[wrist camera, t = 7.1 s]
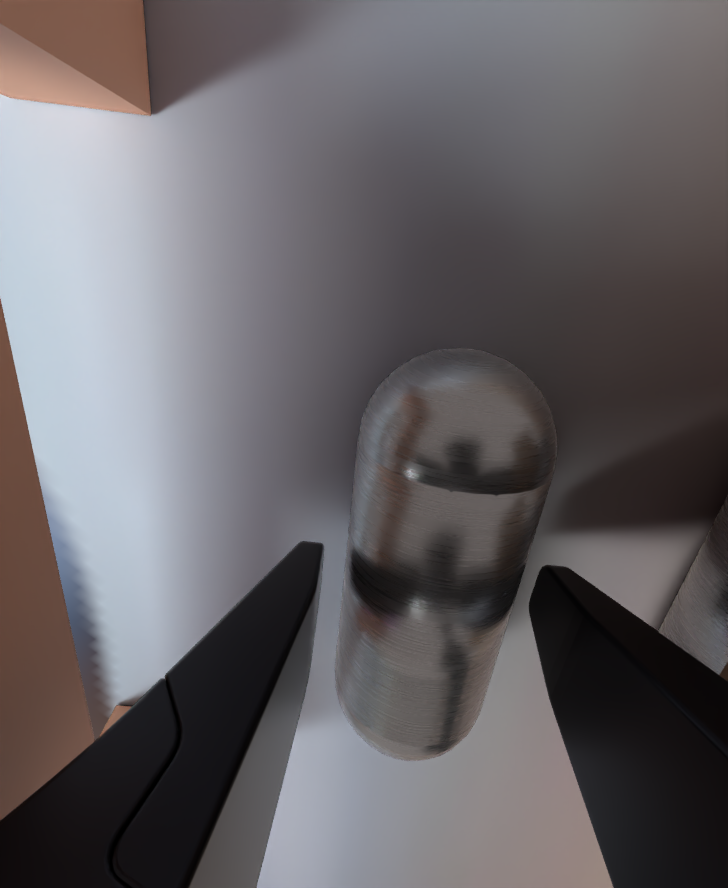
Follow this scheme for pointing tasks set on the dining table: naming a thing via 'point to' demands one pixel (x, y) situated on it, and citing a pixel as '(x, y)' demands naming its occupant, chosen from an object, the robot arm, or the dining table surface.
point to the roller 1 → (437, 544)
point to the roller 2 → (704, 601)
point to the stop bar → (3, 417)
